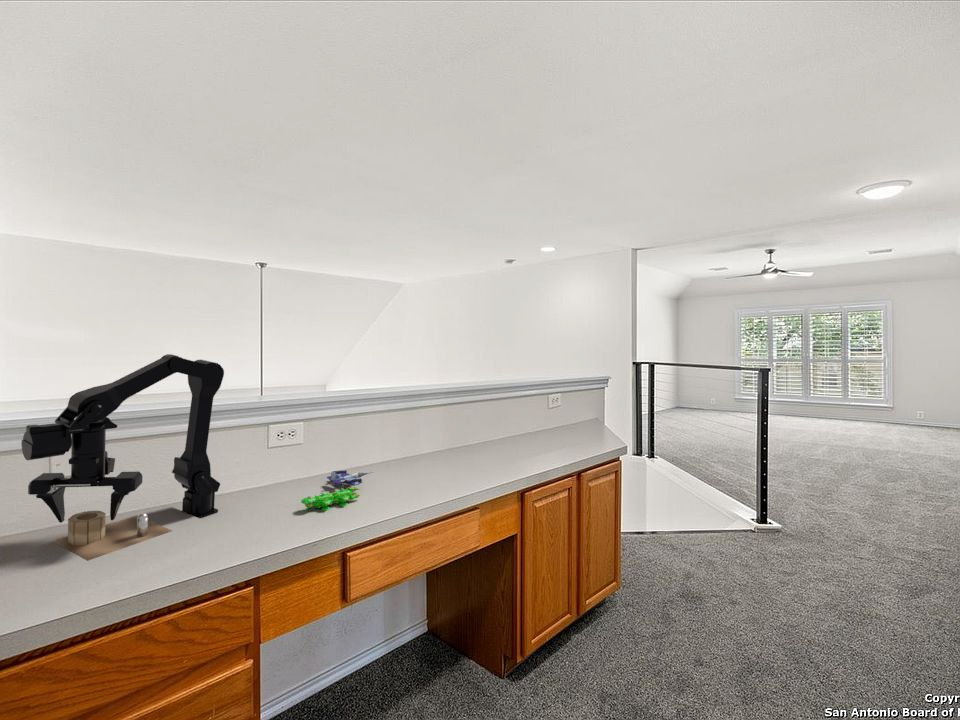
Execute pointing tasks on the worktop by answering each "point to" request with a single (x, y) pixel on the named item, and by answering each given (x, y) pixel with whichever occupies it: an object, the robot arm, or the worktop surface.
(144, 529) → the silver metal cylinder
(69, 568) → the worktop surface
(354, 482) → the toy airplane
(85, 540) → the wooden octagonal holder
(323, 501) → the crocodile figurine
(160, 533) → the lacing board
